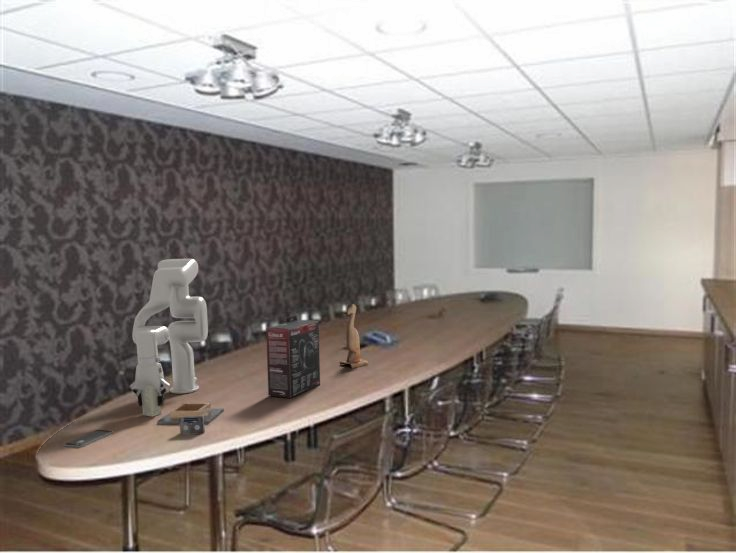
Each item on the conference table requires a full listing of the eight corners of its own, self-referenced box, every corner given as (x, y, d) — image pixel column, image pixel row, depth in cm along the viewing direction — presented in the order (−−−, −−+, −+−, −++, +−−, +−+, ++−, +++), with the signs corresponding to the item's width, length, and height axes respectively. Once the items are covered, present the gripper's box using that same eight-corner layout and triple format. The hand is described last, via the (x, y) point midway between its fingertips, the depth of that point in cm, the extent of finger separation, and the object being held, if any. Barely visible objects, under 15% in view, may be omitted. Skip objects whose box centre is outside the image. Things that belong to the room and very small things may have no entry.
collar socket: (175, 411, 244) (174, 401, 244) (223, 411, 241) (223, 401, 241) (157, 424, 228) (156, 413, 228) (208, 423, 226) (208, 413, 225)
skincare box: (161, 414, 241) (159, 383, 240) (152, 417, 237) (150, 386, 236) (151, 412, 244) (149, 382, 243) (141, 415, 241) (139, 384, 240)
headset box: (298, 382, 282) (295, 312, 280) (322, 384, 277) (319, 312, 274) (267, 396, 260) (263, 320, 258) (292, 399, 255) (288, 321, 252)
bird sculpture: (338, 366, 315) (334, 305, 312) (355, 361, 323) (351, 301, 320) (352, 369, 307) (348, 306, 303) (369, 364, 315) (366, 303, 311)
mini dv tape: (204, 432, 217) (203, 415, 216) (203, 433, 215) (202, 417, 215) (181, 432, 217) (180, 416, 216) (180, 434, 215) (179, 417, 215)
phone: (97, 432, 223) (62, 447, 208) (97, 429, 223) (62, 444, 208) (114, 433, 220) (80, 449, 205) (114, 430, 220) (80, 446, 205)
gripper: (173, 358, 242) (176, 402, 243) (131, 359, 244) (135, 402, 245) (165, 362, 234) (168, 407, 236) (122, 363, 236) (125, 408, 238)
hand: (151, 404), depth 240 cm, fingers closed on skincare box, 7 cm apart
